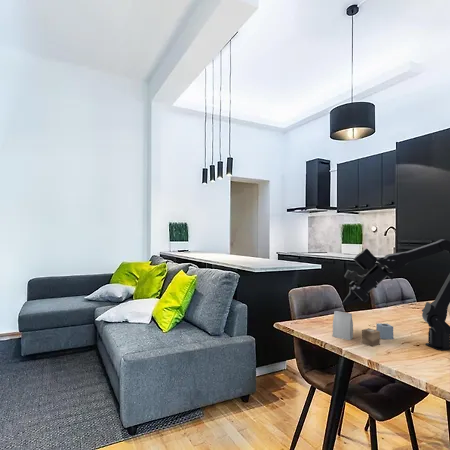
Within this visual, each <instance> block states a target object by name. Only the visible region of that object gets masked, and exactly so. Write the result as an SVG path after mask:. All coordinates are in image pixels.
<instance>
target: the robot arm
mask: <svg viewBox="0 0 450 450" xmlns="http://www.w3.org/2000/svg"><path fill="white" fill-rule="evenodd" d="M440 252H445V253H448V254H450V240H448V239H438V240H437V241H434V242H431V243H428V244H425V245H422V246H419V247H416V248H414V249H409V250H407V251H402V252H394V253H388V254H386V255H384V257H376V256H375V255H374V254H373V253H372V252H371V251H370V250H369V249H368V248H365V249H363V250H362V251H361V252H358V254H357V255H356V256H355V257H354V258H353V261H354V262H355V263H356V264H357V265H358V266H360V268H362V269H363V271H364V270H367V273H365V274H362V275H360V274H358V272H357V271H355V270H352V271H351V269H350V270H349V269H347V270H346V272H345V274H344V275H343V276H344V278H345V279H347V280H350V281H351V282H350V283H349V287H348V288H349V292H348V294H347V296H346V297H345V298H344V299H343V300H342V303H341V305H342V306H348V305H351V304H355V303H359V302H364V303H367V302H369V300H370V295H369V294H370V292H371V291H372V290H374V289H376V288H378V285H379V284H381V283H382V282H383V281H384V280H385V279H386V278H388V279H390V280H391V281H393V280H394V272H392V271H395V270H396V271H397V270H399V269H401V268H402V267H404V266H407V265H408V264H409V263H411V262H414V261H416V260H419V259H422V258H425V257H428V256H431V255H435V254H438V253H440ZM380 265H382V266H383V267H381V266H380ZM389 270H392V271H389ZM449 305H450V272H449V274H448V276H447V277H446V279H445V281H444V283H443V285H442V287H441V288H440V290H439V291H438V294H437V296H436V297H435V299H434V300H433V301H432V302H428V301H426V302H425V305H424V307H423V308H422V309H421V312H422V313H421V316H422V319H423V320H424V322H425V323H427V325H428V327H429V328H428V333H427V335H428V341H427V342H425V345H426V346H428V347H431V348H433V349H436V350H437V351H446V350H447V351H450V325H449V324H448V323H447V321H446V319H447V316H448V310H449V309H448V308H449Z"/></svg>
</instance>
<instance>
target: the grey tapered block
mask: <svg viewBox="0 0 450 450" xmlns="http://www.w3.org/2000/svg"><path fill="white" fill-rule="evenodd" d="M353 337H354V322H353V314H352V313H350V312H344V311H337V310H334V313H333V319H332V338H338V339H342V340H347V341H351V340H353Z"/></svg>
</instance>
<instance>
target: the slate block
mask: <svg viewBox="0 0 450 450" xmlns="http://www.w3.org/2000/svg"><path fill="white" fill-rule="evenodd" d="M375 330H377V331H380V340H394V326H393V325H391V324H388V323H376V329H375Z"/></svg>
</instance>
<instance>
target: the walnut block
mask: <svg viewBox="0 0 450 450" xmlns="http://www.w3.org/2000/svg"><path fill="white" fill-rule="evenodd" d="M380 340H381V338H380V331H377V330H376V329H373V328H365V329H361V344H363V345H365V346H369V347H376V346H379V345H380V344H381V341H380Z"/></svg>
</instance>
